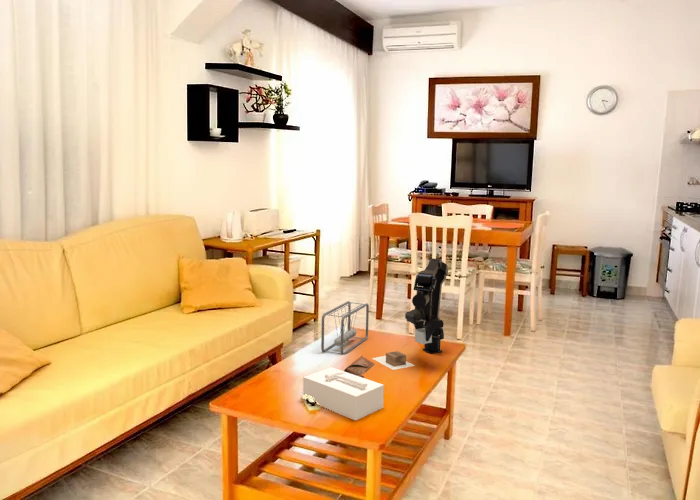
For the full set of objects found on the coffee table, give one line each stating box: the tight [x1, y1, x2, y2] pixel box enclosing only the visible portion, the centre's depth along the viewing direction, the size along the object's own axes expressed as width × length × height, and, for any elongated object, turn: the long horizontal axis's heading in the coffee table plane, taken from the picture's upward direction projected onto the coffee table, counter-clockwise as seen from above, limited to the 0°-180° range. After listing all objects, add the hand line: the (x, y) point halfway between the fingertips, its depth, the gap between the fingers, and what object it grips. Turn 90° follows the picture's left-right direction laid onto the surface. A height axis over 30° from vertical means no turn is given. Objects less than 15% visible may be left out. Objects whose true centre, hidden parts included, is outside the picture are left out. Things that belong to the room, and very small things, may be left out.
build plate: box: [371, 355, 415, 371], centre depth 254 cm, size 11×16×1 cm
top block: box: [414, 328, 432, 345], centre depth 252 cm, size 5×5×5 cm
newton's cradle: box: [320, 300, 370, 355], centre depth 277 cm, size 30×10×18 cm, turn 156°
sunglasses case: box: [343, 355, 376, 378], centre depth 247 cm, size 18×7×7 cm
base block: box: [385, 350, 407, 367], centre depth 252 cm, size 6×6×4 cm
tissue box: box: [302, 366, 385, 421], centre depth 212 cm, size 14×25×11 cm, turn 48°
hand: (423, 339), depth 253 cm, fingers closed on top block, 5 cm apart
